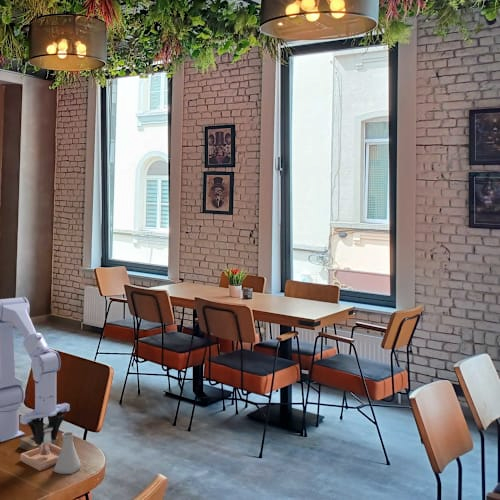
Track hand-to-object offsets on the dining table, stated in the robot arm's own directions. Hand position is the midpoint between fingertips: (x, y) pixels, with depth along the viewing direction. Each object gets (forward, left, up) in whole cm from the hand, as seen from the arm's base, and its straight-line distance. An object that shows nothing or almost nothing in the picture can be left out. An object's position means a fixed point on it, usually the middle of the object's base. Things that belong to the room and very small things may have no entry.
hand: (45, 441), depth 162 cm
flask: (+9, +1, -6) cm, 11 cm away
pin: (0, 0, -3) cm, 3 cm away
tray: (0, 0, -5) cm, 5 cm away
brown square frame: (-10, +4, -5) cm, 12 cm away
